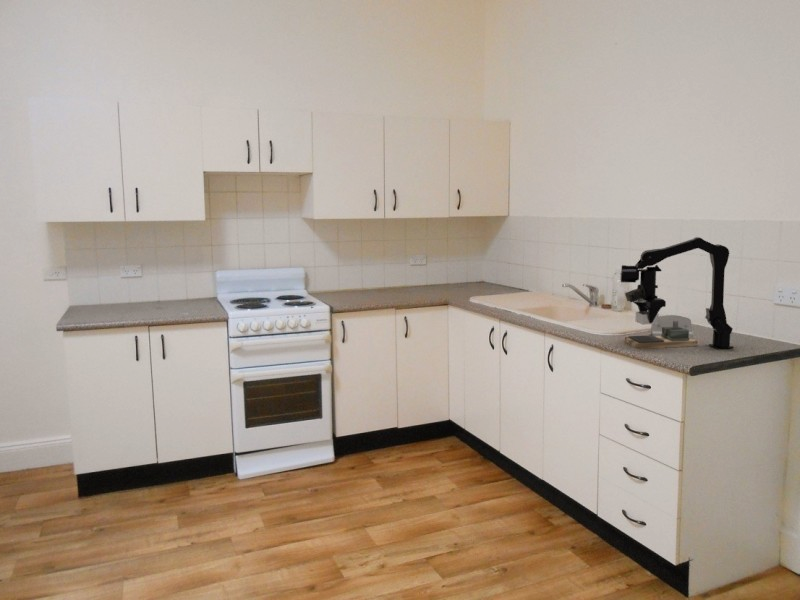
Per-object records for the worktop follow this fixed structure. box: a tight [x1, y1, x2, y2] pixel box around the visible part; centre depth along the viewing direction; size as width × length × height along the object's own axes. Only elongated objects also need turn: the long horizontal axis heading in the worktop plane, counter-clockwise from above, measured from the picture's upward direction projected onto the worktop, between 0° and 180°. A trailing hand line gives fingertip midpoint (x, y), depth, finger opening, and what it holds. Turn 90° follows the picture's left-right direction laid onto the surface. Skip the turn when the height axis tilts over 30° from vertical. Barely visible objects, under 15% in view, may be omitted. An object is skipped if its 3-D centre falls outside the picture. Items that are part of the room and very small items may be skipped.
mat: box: [628, 334, 664, 343], centre depth 255 cm, size 10×10×1 cm
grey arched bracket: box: [650, 314, 695, 339], centre depth 270 cm, size 17×5×10 cm, turn 78°
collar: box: [635, 311, 660, 325], centre depth 254 cm, size 6×6×4 cm
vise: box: [624, 321, 698, 350], centre depth 256 cm, size 12×24×9 cm, turn 94°
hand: (646, 321), depth 254 cm, fingers closed on collar, 6 cm apart
